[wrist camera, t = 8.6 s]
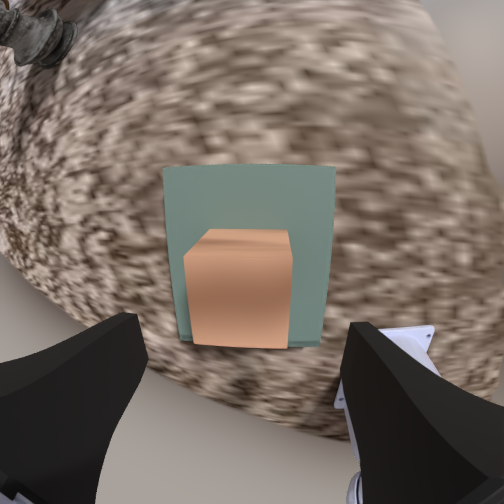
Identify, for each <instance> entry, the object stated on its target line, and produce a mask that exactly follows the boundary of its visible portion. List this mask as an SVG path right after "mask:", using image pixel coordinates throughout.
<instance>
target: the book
mask: <svg viewBox="0 0 504 504" xmlns="http://www.w3.org/2000/svg"><path fill="white" fill-rule="evenodd" d="M163 185H164V204H165V220H166V233H167V244H168V254H169V264H170V273H171V281H172V289H173V297H174V304H175V311H176V317H177V324H178V330H179V336H180V340H184V341H193V334H192V327H191V320H190V312H189V304H188V296H187V287H186V278H185V268H184V258H183V256H184V255H185V254H186V253H187V252H188V251H189V250H190V249H191V248H192V247H193V246H194V245H195V244H196V243H197V242H198V241H199V240H200V239H201V238H202V237H203V236H204V234H205V233H206V232H207V231H208V230H209V229H279V230H287V231H288V236H289V241H290V247H291V252H292V257H293V264H292V284H291V301H290V317H289V331H288V344H287V347H319V346H320V340H321V333H322V327H323V320H324V313H325V305H326V298H327V289H328V281H329V271H330V261H331V251H332V238H333V225H334V208H335V186H336V167H331V166H315V165H290V164H222V165H197V166H180V167H166V168H163Z"/></svg>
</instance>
